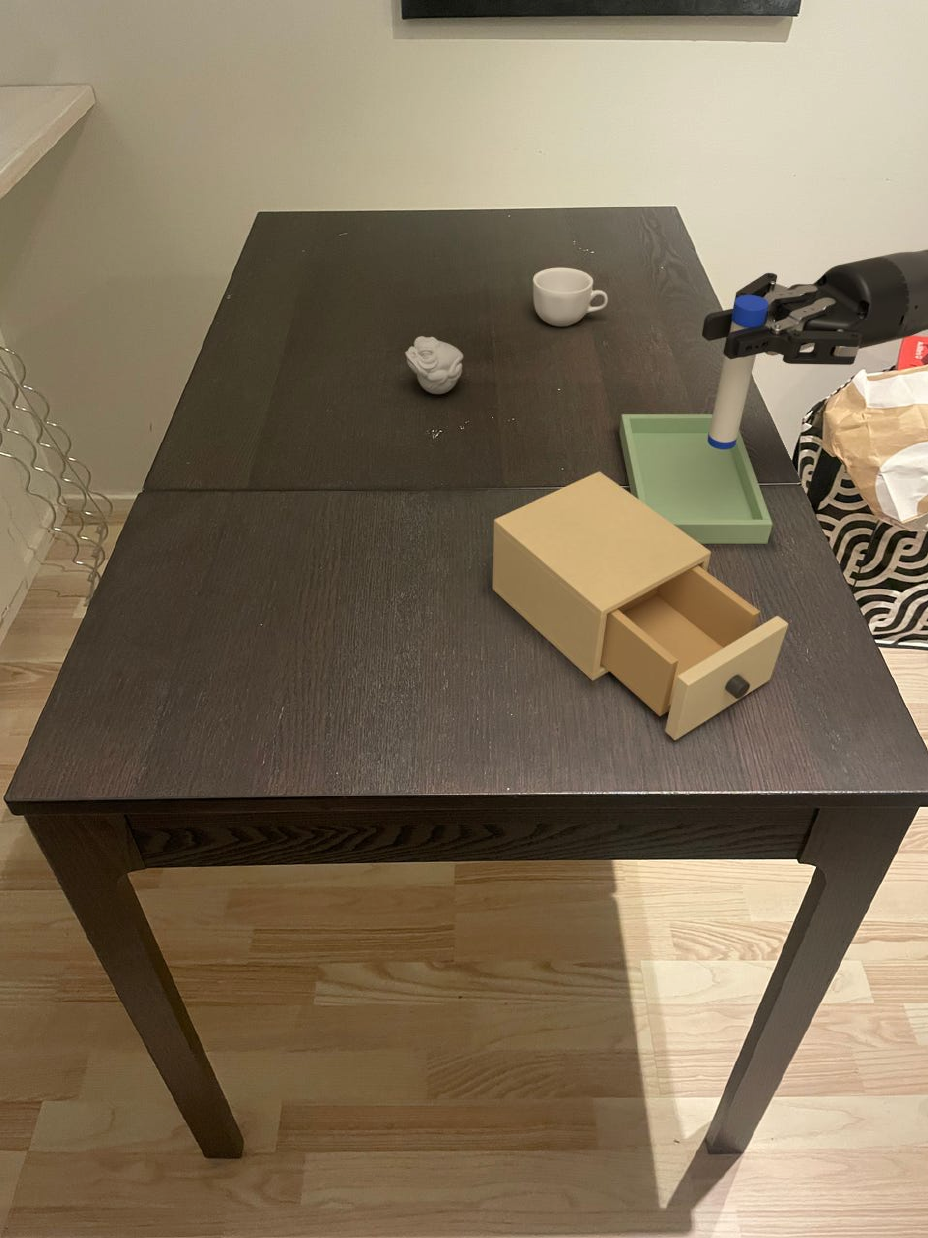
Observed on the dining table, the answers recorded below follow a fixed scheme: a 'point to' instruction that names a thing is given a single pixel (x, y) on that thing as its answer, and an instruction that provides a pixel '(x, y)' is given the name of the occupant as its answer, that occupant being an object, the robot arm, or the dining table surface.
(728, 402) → the marker
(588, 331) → the dining table surface
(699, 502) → the tray
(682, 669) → the drawer
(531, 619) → the cabinet
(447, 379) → the frog figurine
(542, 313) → the teacup
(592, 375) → the dining table surface
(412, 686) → the dining table surface
